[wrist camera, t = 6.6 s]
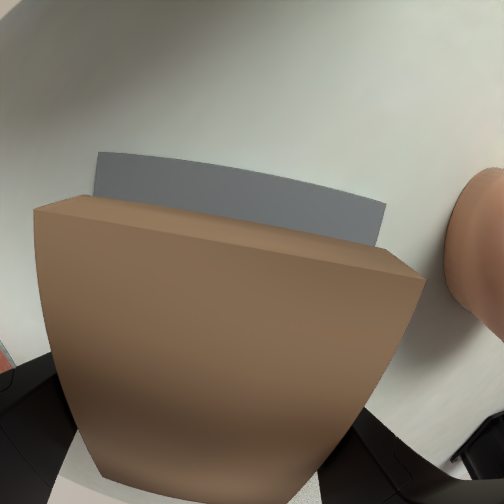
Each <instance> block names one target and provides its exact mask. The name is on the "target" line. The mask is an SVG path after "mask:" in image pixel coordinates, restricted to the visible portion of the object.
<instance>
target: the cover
mask: <svg viewBox="0 0 504 504" xmlns="http://www.w3.org/2000/svg"><path fill="white" fill-rule="evenodd" d="M34 245H35V259H36V270H37V278H38V286H39V293H40V300H41V306H42V311H43V317H44V322H45V327H46V331H47V336H48V340H49V344H50V348H51V352H52V356H53V359H54V363H55V366H56V370H57V373H58V376H59V379H60V382H61V385H62V388H63V391H64V394H65V397H66V400H67V402H68V405H69V408H70V410H71V413H72V415H73V418H74V420H75V423H76V425H77V427H78V430H79V432H80V434H81V436H82V438H83V441H84V443H85V445H86V447H87V449H88V451H89V453H90V455H91V457H92V459H93V461H94V463H95V465H96V466H97V468H98V470H99V472H100V474H101V475H102V477H104V478H106V479H109V480H112V481H115V482H118V483H121V484H124V485H127V486H130V487H133V488H137V489H140V490H144V491H147V492H151V493H155V494H159V495H163V496H168V497H172V498H177V499H182V500H187V501H193V502H199V503H206V504H287V503H288V502H289V501H290V500H291V499H292V498H293V497H294V496H295V495H296V494H297V492H298V491H299V490H300V489H301V488H302V487H303V486H304V485H305V484H306V483H307V481H308V480H309V479H310V478H311V477H312V476H313V475H314V473H315V472H316V471H317V470H318V469H319V467H320V466H321V465H322V464H323V463H324V461H325V460H326V459H327V458H328V456H329V455H330V454H331V452H332V451H333V450H334V449H335V447H336V446H337V445H338V443H339V442H340V441H341V439H342V438H343V436H344V435H345V434H346V432H347V431H348V429H349V428H350V427H351V425H352V424H353V422H354V421H355V419H356V418H357V416H358V415H359V413H360V412H361V410H362V409H363V407H364V405H365V404H366V402H367V401H368V399H369V398H370V396H371V394H372V393H373V391H374V389H375V388H376V386H377V384H378V382H379V381H380V379H381V377H382V375H383V374H384V372H385V370H386V368H387V366H388V365H389V363H390V361H391V359H392V357H393V355H394V353H395V351H396V349H397V347H398V345H399V343H400V341H401V339H402V337H403V335H404V333H405V331H406V328H407V326H408V324H409V322H410V320H411V317H412V315H413V313H414V310H415V308H416V306H417V303H418V301H419V298H420V296H421V293H422V291H423V288H424V286H425V283H426V279H425V278H423V277H422V276H421V275H419V274H418V273H417V272H416V271H414V270H413V269H412V268H410V267H409V266H408V265H406V264H405V263H404V262H402V261H401V260H400V259H398V258H397V257H396V256H394V255H393V254H391V253H390V252H389V251H387V250H386V249H383V248H378V247H374V246H369V245H365V244H360V243H355V242H351V241H346V240H341V239H337V238H332V237H327V236H322V235H317V234H313V233H308V232H303V231H298V230H293V229H288V228H282V227H277V226H272V225H267V224H262V223H256V222H251V221H245V220H240V219H235V218H229V217H223V216H218V215H212V214H206V213H200V212H195V211H189V210H183V209H176V208H170V207H164V206H158V205H151V204H145V203H138V202H132V201H125V200H118V199H111V198H104V197H97V196H90V195H80V196H76V197H72V198H69V199H65V200H62V201H58V202H55V203H52V204H48V205H45V206H42V207H39V208H35V209H34Z"/></svg>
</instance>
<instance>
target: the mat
mask: <svg viewBox="0 0 504 504" xmlns="http://www.w3.org/2000/svg"><path fill="white" fill-rule="evenodd" d="M94 196H97V197H104V198H111V199H118V200H125V201H132V202H138V203H145V204H151V205H158V206H164V207H170V208H176V209H183V210H189V211H195V212H200V213H206V214H212V215H218V216H223V217H229V218H235V219H240V220H245V221H251V222H256V223H262V224H267V225H272V226H277V227H282V228H288V229H293V230H298V231H303V232H308V233H313V234H317V235H322V236H327V237H332V238H337V239H341V240H346V241H351V242H355V243H360V244H365V245H369V246H374V247H375V244H376V241H377V237H378V234H379V230H380V226H381V223H382V219H383V215H384V211H385V207H386V204H385V203H382V202H380V201H376V200H373V199H369V198H366V197H362V196H358V195H355V194H351V193H347V192H343V191H339V190H336V189H332V188H328V187H323V186H319V185H315V184H311V183H307V182H302V181H298V180H293V179H289V178H284V177H279V176H274V175H269V174H264V173H259V172H254V171H249V170H243V169H237V168H232V167H226V166H220V165H213V164H207V163H200V162H193V161H186V160H179V159H171V158H163V157H154V156H145V155H134V154H123V153H111V152H98V159H97V167H96V176H95V187H94Z"/></svg>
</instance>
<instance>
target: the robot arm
mask: <svg viewBox="0 0 504 504" xmlns="http://www.w3.org/2000/svg"><path fill="white" fill-rule="evenodd" d="M77 429H78V427H77V425H76V423H75V420H74V418H73V415H72V413H71V410H70V408H69V405H68V402H67V400H66V397H65V394H64V391H63V388H62V385H61V382H60V379H59V376H58V373H57V370H56V366H55V363H54V359H53V356H52V352H49V353H47V354H45V355H42V356H40V357H38V358H35V359H33V360H31V361H28V362H26V363H24V364H21V365H19V366H17V367H15V368H12V369H10V370H7V371H5V372H2V373H0V504H47V502H48V499H49V496H50V493H51V491H52V488H53V485H54V483H55V480H56V478H57V475H58V473H59V470H60V468H61V466H62V463H63V461H64V459H65V456H66V454H67V452H68V449H69V447H70V445H71V443H72V440H73V438H74V436H75V434H76V432H77ZM460 460H462V461H463V463H464V465H465V467H466V469H467V471H468V473H469V475H470V477H471V479H472V480H460V479H457V478H454V477H451V476H450V475H448V474H446V473H445V472H443V471H442V470H440V469H439V468H437V467H436V466H434V465H433V464H432V463H430V462H429V461H427V460H426V459H424V458H423V457H422V456H420V455H419V454H417V453H416V452H415V451H414V450H412V449H411V448H410V447H409V446H407V445H406V444H405V443H404V442H403V441H402V440H401V439H399V438H398V437H396V435H395V434H394V433H393V432H391V431H390V430H389V429H388V428H387V427H386V426H385V425H384V424H383V423H381V422H380V421H379V420H378V419H377V418H376V417H375V416H374V415H373V414H372V413H371V412H369V411H368V410H367V409H366V408H365V407H363V409H362V410H361V412H360V413H359V415H358V416H357V418H356V419H355V421H354V422H353V424H352V425H351V427H350V428H349V429H348V431H347V432H346V434H345V435H344V436H343V438H342V439H341V441H340V442H339V443H338V445H337V446H336V447H335V449H334V450H333V451H332V452H331V454H330V455H329V456H328V458H327V459H326V460H325V461H324V463H323V464H322V465H321V466H320V467H319V469H318V470H317V473H318V480H319V486H320V493H321V500H322V504H504V411H502V412H500V413H497V414H495V415H492V416H491V417H490V418H488V420H487V421H486V422H485V423H484V424H483V425H482V427H481V428H480V429H479V430H478V431H477V432H476V434H475V435H474V436H473V437H472V438H471V439H470V440H469V441H468V442H467V443H466V444H465V446H464V447H463V448H462V449H461V450H460V451H459V452H458V453H457V454H456V455H455V456H454V457H453V458H452V459H451V460H450V461H451V463H455V462H457V461H460Z"/></svg>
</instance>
